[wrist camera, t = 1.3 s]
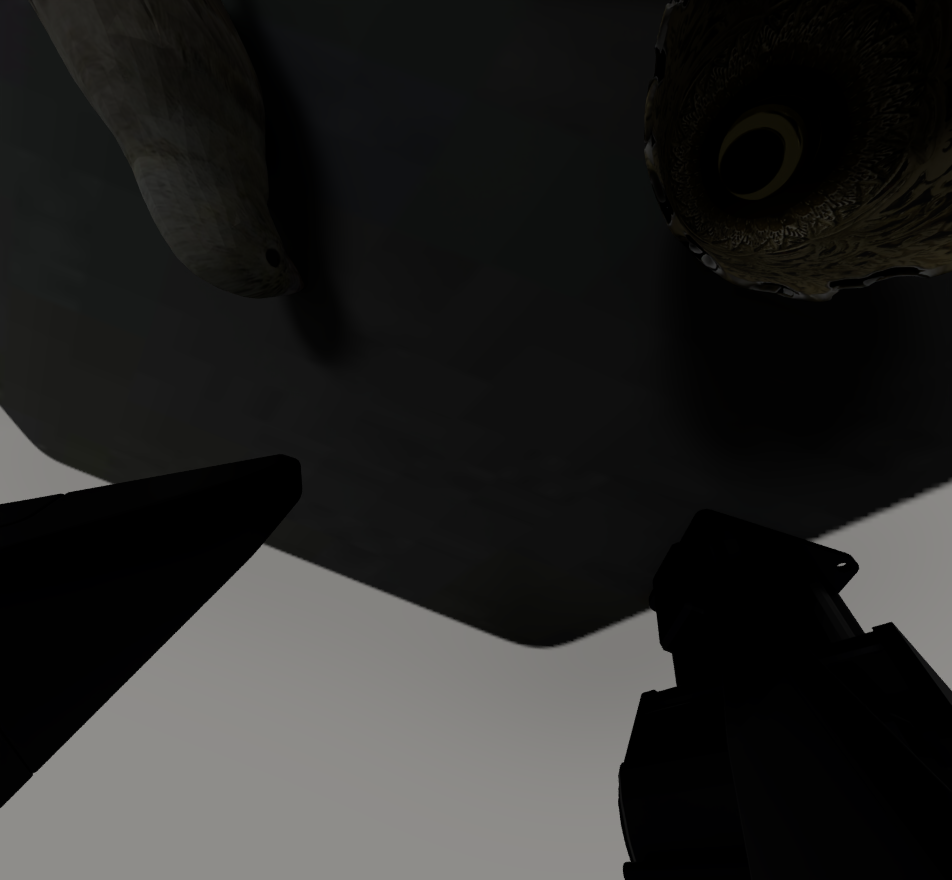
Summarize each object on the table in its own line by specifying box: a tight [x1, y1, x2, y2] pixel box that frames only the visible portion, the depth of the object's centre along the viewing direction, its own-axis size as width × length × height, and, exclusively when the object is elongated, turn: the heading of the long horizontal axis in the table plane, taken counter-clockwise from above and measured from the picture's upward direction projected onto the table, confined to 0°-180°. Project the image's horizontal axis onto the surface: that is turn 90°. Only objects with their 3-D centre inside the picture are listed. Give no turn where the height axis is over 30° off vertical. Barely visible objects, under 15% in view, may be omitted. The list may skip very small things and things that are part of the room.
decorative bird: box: [29, 0, 304, 298], centre depth 14 cm, size 5×16×8 cm, turn 11°
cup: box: [644, 0, 952, 302], centre depth 10 cm, size 8×7×8 cm
